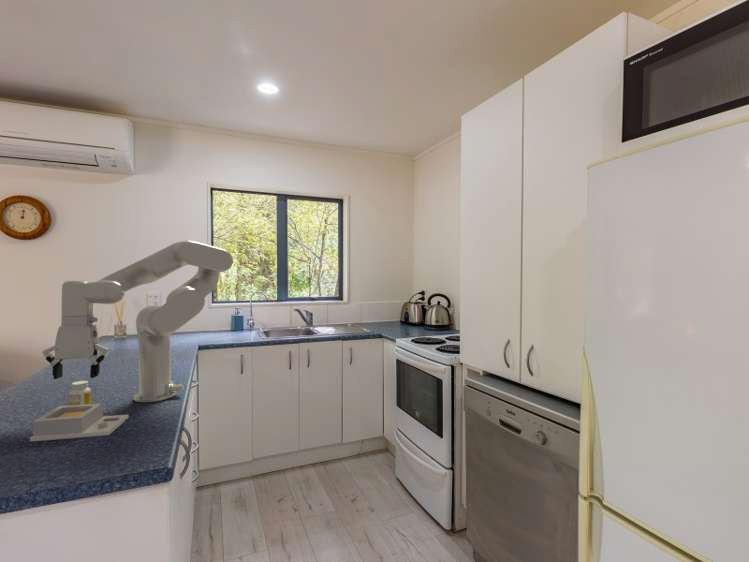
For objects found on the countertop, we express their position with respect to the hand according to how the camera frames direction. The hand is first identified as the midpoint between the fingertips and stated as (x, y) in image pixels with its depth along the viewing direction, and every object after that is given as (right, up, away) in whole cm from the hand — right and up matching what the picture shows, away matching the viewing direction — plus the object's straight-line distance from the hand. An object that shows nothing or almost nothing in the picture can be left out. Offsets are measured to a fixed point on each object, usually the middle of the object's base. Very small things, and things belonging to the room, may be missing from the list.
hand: (76, 377), depth 114 cm
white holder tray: (+10, -12, -10) cm, 19 cm away
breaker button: (+7, -10, -11) cm, 16 cm away
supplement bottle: (+1, -12, +1) cm, 12 cm away
